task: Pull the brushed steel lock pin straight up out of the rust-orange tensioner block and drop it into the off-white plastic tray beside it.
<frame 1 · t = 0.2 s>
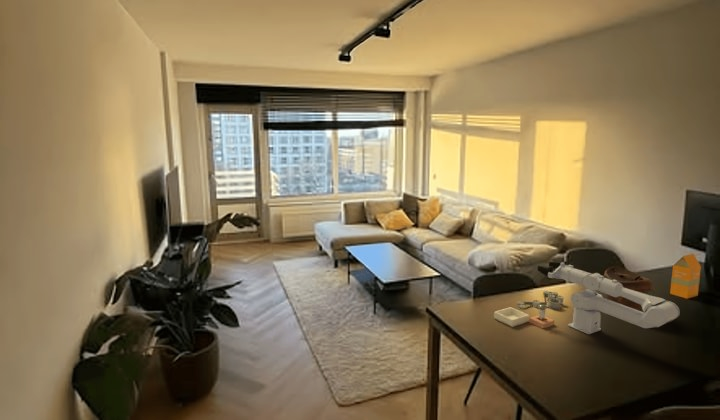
hand: (543, 266, 187), 21 cm above the table, tool horizontal, fingers open, 7 cm apart
lock pin: (542, 314, 178), in the tensioner block
tensioner block: (541, 323, 178), on the table
terracotta flower pot: (625, 310, 190), on the table
orange juice: (683, 294, 206), on the table
tray: (511, 319, 182), on the table
pulley system: (545, 305, 199), on the table
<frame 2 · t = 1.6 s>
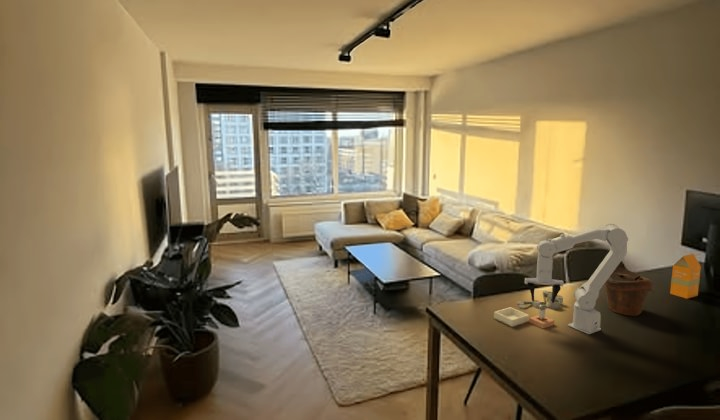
hand: (542, 301, 177), 10 cm above the table, tool pointing down, fingers open, 7 cm apart
nothing on the table moved.
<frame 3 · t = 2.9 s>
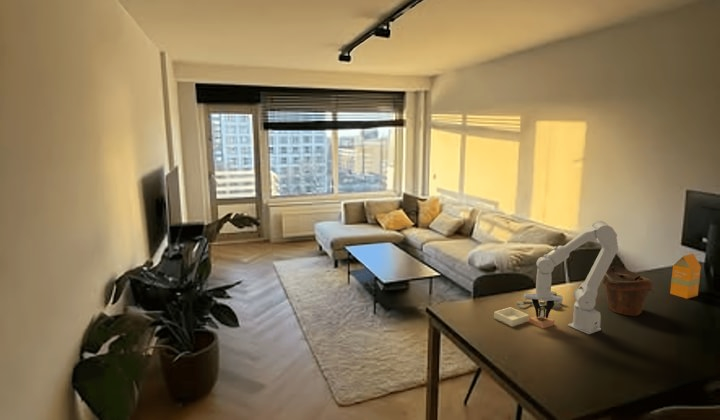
hand: (541, 316, 178), 3 cm above the table, tool pointing down, fingers closed on lock pin, 3 cm apart
lock pin: (542, 314, 178), in the tensioner block, touching gripper
everything else where it was.
when the fingers open (5 cm above the table, at t = 6.4 s): lock pin drops 2 cm, resting on tray.
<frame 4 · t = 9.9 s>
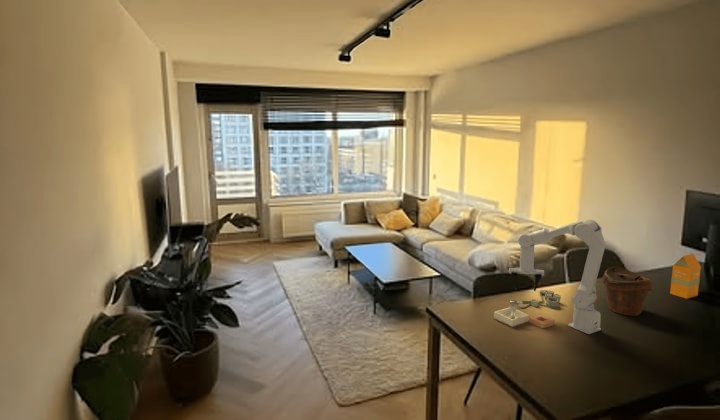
hand: (525, 289, 190), 10 cm above the table, tool pointing down, fingers open, 7 cm apart
lock pin: (512, 310, 181), in the tray
pulley system: (542, 304, 200), on the table
everything else where it was.
at the end: lock pin inside the target area on the tray (0.4 cm from its centre), point 4.5 cm above the tray's base; the gripper is holding nothing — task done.
